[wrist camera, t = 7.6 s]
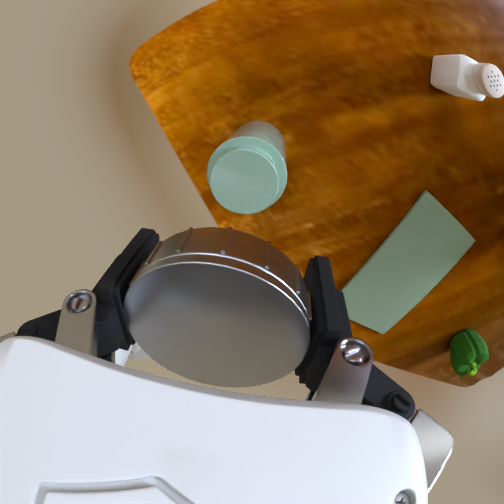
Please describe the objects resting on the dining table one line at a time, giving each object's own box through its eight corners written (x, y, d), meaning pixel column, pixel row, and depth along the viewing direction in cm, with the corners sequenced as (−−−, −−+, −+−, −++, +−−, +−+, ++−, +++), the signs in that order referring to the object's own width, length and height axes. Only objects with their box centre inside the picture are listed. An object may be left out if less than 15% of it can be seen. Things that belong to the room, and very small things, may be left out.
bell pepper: (480, 332, 42) (496, 369, 33) (450, 353, 45) (463, 390, 37) (472, 316, 39) (492, 356, 31) (440, 339, 43) (455, 380, 35)
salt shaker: (427, 84, 21) (477, 91, 13) (430, 54, 19) (480, 51, 11) (454, 96, 21) (505, 109, 13) (457, 67, 19) (509, 71, 11)
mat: (382, 332, 42) (383, 334, 42) (325, 306, 40) (325, 308, 39) (474, 238, 31) (475, 240, 30) (425, 189, 28) (427, 190, 28)
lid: (123, 226, 9) (95, 258, 7) (315, 225, 8) (323, 263, 7) (165, 345, 12) (153, 377, 11) (301, 354, 12) (302, 390, 10)
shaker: (268, 182, 30) (261, 234, 21) (220, 158, 29) (188, 199, 20) (295, 137, 27) (304, 168, 18) (245, 110, 26) (223, 125, 17)
